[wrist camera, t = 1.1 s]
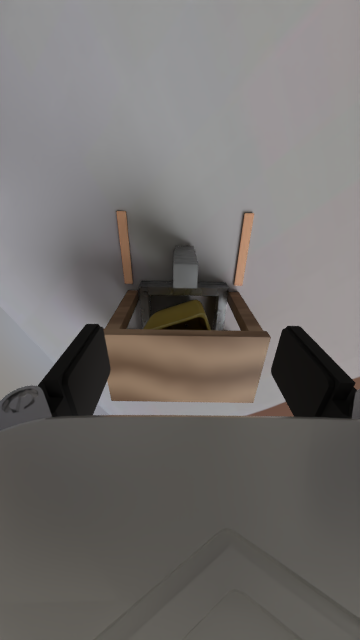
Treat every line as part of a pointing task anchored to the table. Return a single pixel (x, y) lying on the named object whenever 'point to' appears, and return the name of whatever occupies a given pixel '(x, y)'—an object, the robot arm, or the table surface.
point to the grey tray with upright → (185, 286)
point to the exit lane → (241, 256)
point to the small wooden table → (185, 359)
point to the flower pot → (180, 318)
